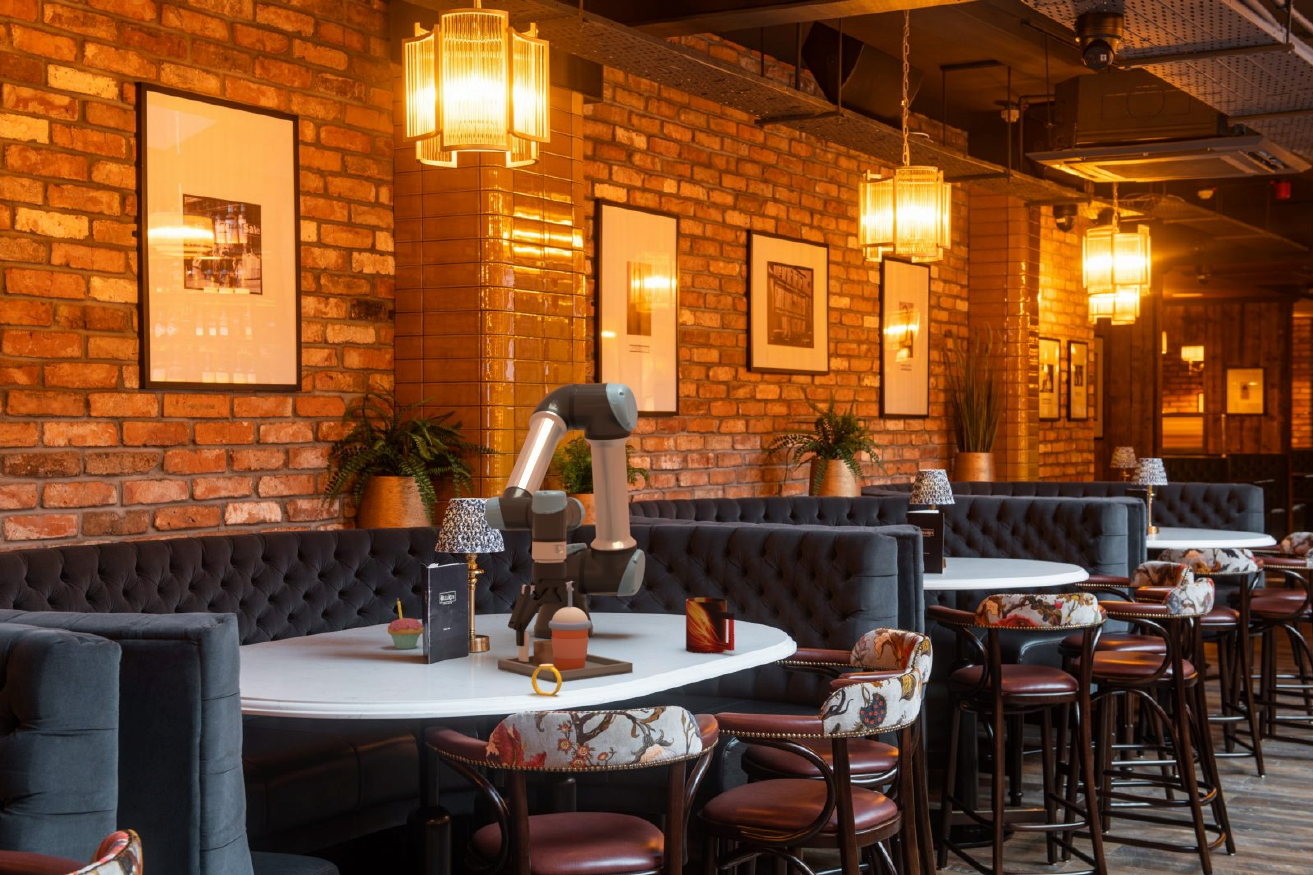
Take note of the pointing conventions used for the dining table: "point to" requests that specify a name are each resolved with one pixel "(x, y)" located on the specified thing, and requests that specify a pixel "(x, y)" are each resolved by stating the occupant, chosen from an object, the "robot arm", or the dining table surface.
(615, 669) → the tray
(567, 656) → the cup with straw
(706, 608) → the mug
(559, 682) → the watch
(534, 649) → the walnut block
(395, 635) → the cupcake
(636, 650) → the dining table surface
